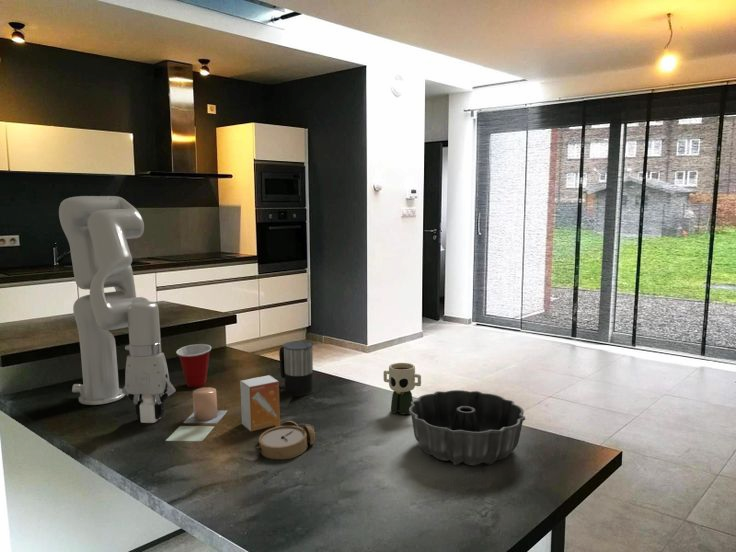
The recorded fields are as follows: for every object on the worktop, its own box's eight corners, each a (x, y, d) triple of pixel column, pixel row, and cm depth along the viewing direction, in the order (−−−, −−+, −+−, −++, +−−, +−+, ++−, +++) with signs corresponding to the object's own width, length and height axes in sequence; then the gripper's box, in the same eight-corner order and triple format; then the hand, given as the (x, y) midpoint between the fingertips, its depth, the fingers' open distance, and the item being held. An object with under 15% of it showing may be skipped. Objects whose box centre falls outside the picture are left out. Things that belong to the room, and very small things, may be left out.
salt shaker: (147, 422, 155) (145, 387, 154) (161, 422, 155) (159, 387, 153) (140, 427, 151) (137, 392, 150) (154, 428, 151) (152, 392, 149)
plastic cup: (170, 388, 183) (168, 351, 181) (193, 378, 192) (191, 342, 191) (198, 392, 178) (196, 354, 177) (220, 381, 188) (218, 345, 187)
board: (153, 448, 139) (153, 442, 138) (188, 414, 160) (187, 408, 160) (211, 449, 138) (211, 443, 137) (238, 414, 159) (237, 409, 159)
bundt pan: (545, 448, 136) (546, 407, 134) (481, 489, 117) (482, 442, 116) (453, 419, 154) (453, 382, 153) (386, 450, 135) (385, 409, 134)
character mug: (378, 413, 158) (378, 367, 156) (388, 405, 165) (388, 360, 163) (416, 419, 154) (416, 371, 152) (425, 410, 160) (425, 364, 158)
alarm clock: (247, 441, 135) (290, 410, 147) (251, 459, 136) (293, 428, 148) (282, 453, 129) (325, 420, 140) (286, 472, 130) (327, 438, 142)
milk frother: (320, 389, 179) (319, 343, 177) (287, 405, 166) (285, 355, 164) (285, 382, 186) (283, 337, 184) (250, 397, 173) (248, 348, 171)
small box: (251, 437, 144) (248, 386, 142) (241, 429, 149) (239, 380, 147) (281, 429, 148) (279, 380, 147) (270, 422, 154) (268, 374, 152)
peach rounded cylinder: (190, 420, 151) (189, 394, 150) (198, 412, 157) (197, 387, 156) (213, 421, 151) (211, 395, 150) (220, 412, 157) (219, 387, 156)
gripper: (107, 353, 147) (112, 422, 149) (171, 353, 146) (176, 423, 148) (121, 345, 154) (126, 411, 157) (183, 345, 153) (187, 412, 156)
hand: (150, 416), depth 152 cm, fingers closed on salt shaker, 4 cm apart
